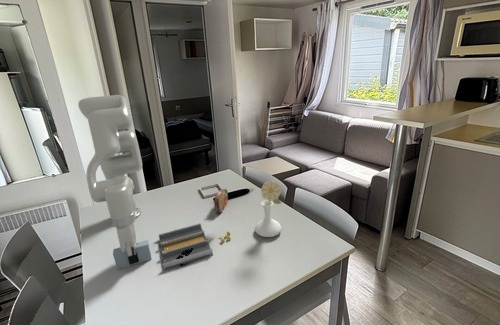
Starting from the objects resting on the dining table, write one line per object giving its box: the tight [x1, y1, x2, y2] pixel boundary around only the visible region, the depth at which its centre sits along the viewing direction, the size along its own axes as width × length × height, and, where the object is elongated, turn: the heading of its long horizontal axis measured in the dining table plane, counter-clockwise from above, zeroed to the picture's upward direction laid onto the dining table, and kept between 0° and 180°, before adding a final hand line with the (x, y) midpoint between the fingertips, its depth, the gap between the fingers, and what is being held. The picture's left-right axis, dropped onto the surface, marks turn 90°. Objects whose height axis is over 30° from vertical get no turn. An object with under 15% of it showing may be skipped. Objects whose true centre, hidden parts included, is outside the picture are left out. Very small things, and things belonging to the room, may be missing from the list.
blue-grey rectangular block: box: [112, 239, 152, 270], centre depth 100 cm, size 3×12×7 cm, turn 113°
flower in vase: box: [254, 179, 282, 238], centre depth 109 cm, size 13×11×25 cm
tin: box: [213, 188, 229, 213], centre depth 134 cm, size 15×3×8 cm, turn 168°
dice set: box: [218, 231, 232, 244], centre depth 111 cm, size 5×5×2 cm
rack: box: [158, 222, 214, 271], centre depth 107 cm, size 20×18×2 cm
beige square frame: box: [198, 182, 224, 199], centre depth 153 cm, size 12×12×2 cm
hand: (134, 259), depth 101 cm, fingers closed on blue-grey rectangular block, 3 cm apart
